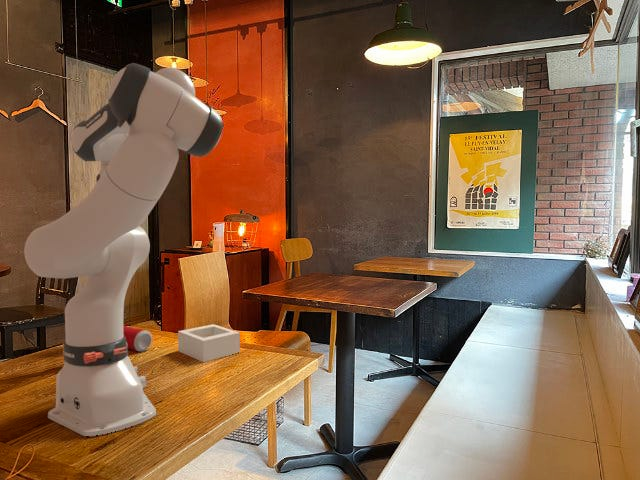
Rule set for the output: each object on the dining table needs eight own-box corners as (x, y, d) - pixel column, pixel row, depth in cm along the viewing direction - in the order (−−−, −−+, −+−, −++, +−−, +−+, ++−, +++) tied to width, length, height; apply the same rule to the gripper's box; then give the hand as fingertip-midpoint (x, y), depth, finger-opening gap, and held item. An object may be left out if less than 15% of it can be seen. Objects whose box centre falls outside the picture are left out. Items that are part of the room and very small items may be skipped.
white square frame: (239, 352, 137) (239, 332, 136) (203, 362, 128) (203, 340, 128) (213, 343, 146) (213, 324, 146) (178, 351, 138) (178, 331, 138)
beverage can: (156, 334, 141) (131, 329, 147) (141, 327, 136) (115, 322, 142) (148, 354, 138) (122, 348, 145) (132, 348, 134) (106, 342, 140)
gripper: (145, 175, 127) (146, 226, 128) (115, 178, 141) (116, 224, 142) (121, 174, 122) (122, 227, 123) (93, 177, 137) (94, 224, 138)
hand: (119, 225), depth 133 cm, fingers open, 8 cm apart
